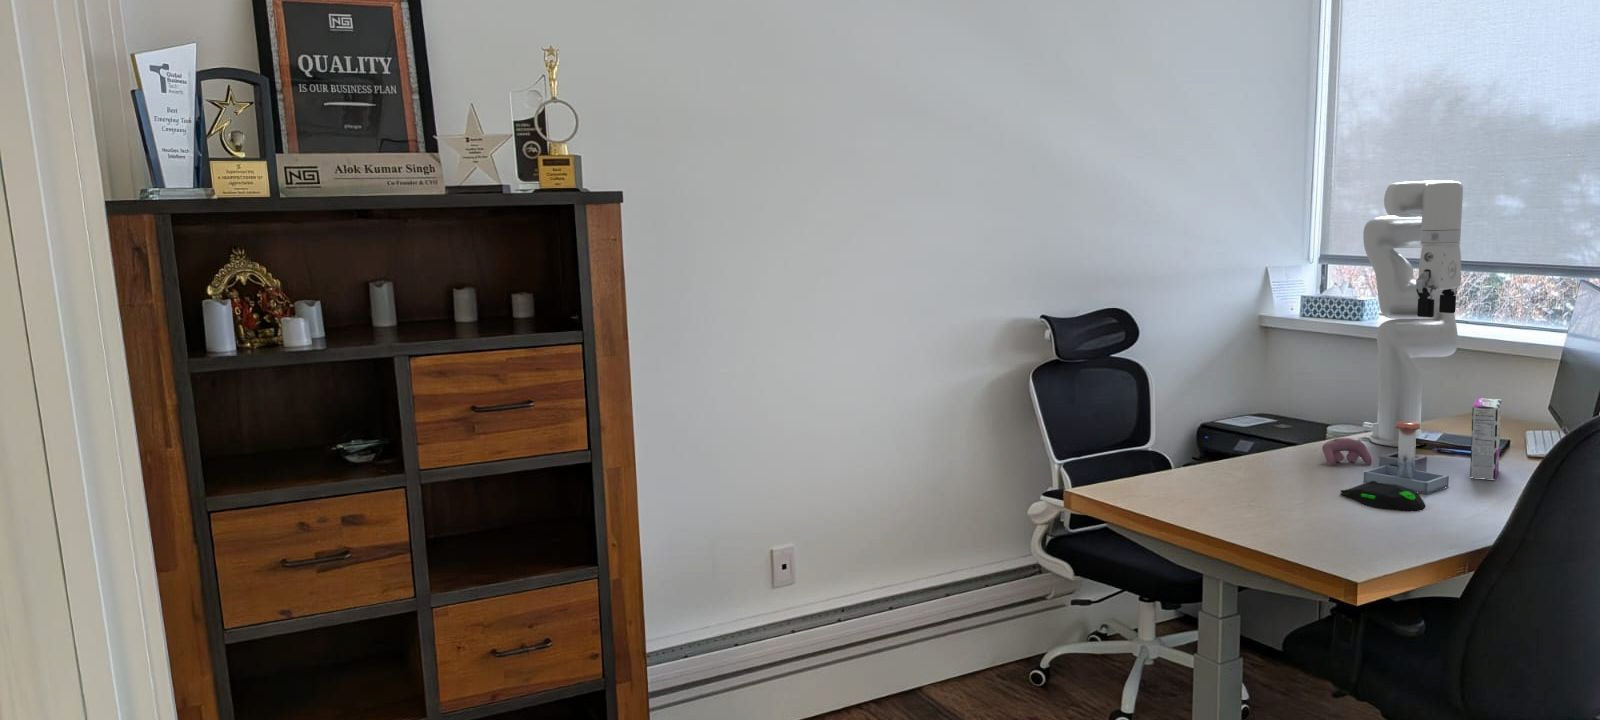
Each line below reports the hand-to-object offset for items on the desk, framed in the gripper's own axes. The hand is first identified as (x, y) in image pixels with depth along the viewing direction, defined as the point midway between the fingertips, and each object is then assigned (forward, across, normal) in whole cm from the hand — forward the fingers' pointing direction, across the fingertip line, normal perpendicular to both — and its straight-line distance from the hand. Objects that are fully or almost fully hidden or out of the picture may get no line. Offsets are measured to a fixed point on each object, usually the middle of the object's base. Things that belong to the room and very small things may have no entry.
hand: (1436, 314), depth 231 cm
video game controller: (+36, -8, +15) cm, 40 cm away
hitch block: (+35, -9, +1) cm, 37 cm away
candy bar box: (+36, +3, -10) cm, 37 cm away
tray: (+35, -18, -4) cm, 40 cm away
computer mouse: (+36, -34, -7) cm, 50 cm away
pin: (+35, -18, -4) cm, 39 cm away
